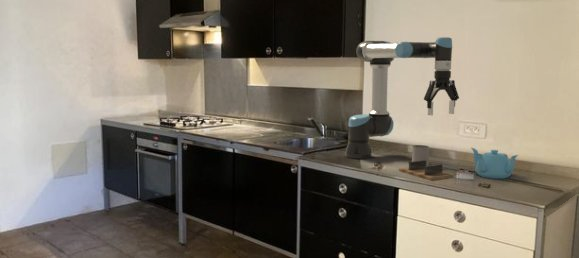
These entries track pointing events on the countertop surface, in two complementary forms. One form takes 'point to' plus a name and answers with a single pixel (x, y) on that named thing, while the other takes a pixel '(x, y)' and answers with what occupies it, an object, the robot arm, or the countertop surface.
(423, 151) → the cup
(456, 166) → the countertop surface
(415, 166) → the end holder
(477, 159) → the teapot
